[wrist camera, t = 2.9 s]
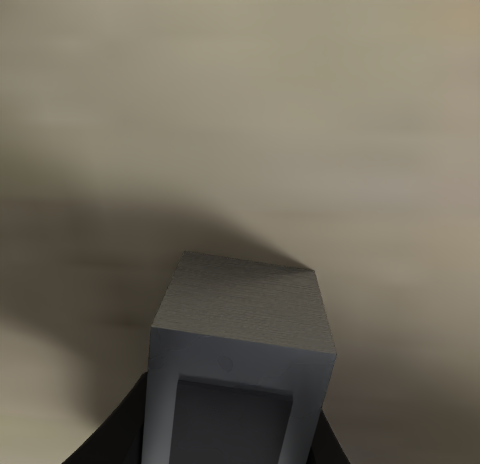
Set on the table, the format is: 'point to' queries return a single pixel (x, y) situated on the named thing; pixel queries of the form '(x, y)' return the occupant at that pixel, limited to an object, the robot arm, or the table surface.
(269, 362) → the block
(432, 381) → the table surface
